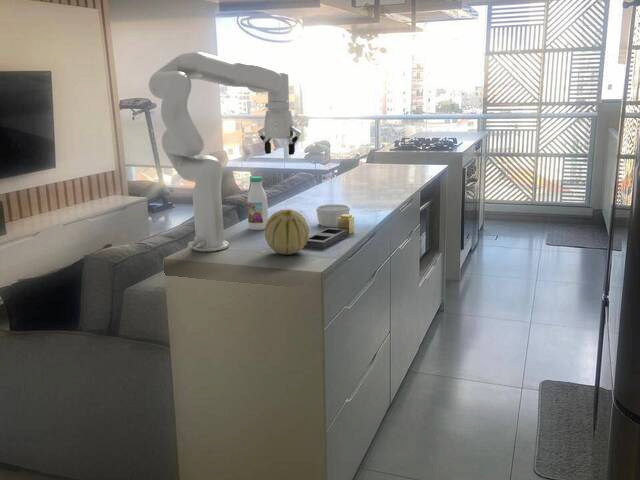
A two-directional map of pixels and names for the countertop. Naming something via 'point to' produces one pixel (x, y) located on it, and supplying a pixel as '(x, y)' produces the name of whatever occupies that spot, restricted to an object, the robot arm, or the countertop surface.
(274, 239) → the cantaloupe
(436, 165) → the countertop surface
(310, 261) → the countertop surface
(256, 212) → the milk bottle
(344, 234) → the grey board with holes
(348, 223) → the yellow rectangular block
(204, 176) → the robot arm
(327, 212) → the ramekin
